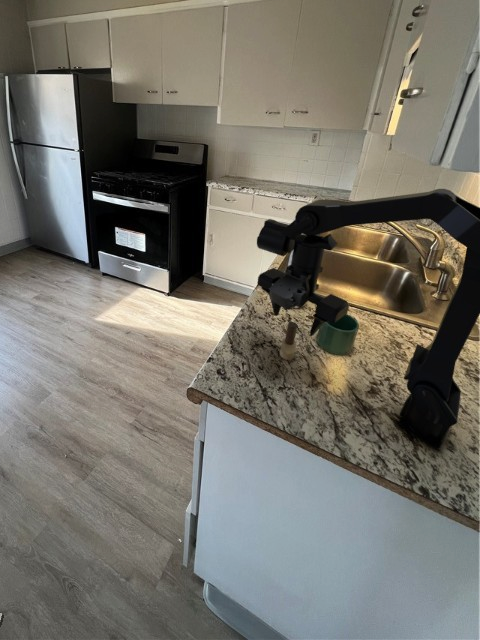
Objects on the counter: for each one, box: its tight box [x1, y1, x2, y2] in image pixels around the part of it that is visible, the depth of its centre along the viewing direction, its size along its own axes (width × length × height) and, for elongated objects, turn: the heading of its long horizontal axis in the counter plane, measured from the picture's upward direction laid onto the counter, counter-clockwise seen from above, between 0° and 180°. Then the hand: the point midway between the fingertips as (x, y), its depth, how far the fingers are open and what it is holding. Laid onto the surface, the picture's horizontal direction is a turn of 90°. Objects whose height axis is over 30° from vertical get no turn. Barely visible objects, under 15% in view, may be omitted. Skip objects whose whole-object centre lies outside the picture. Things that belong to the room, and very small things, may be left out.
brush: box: [279, 321, 298, 361], centre depth 72 cm, size 3×3×9 cm
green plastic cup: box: [316, 313, 360, 356], centre depth 77 cm, size 8×8×7 cm
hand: (293, 324), depth 70 cm, fingers open, 9 cm apart
